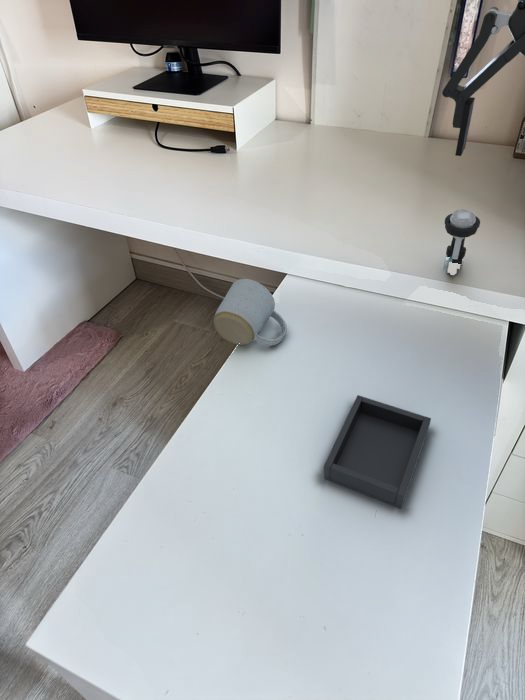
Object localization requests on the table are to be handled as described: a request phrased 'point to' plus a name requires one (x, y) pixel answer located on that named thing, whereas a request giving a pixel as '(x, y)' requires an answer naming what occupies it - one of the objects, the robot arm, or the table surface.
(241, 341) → the ceramic mug
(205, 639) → the table surface
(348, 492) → the table surface
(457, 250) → the push button
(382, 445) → the tray
